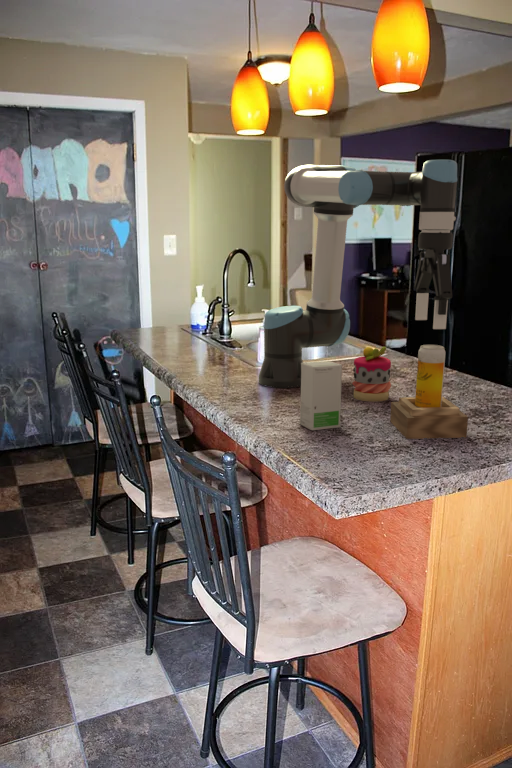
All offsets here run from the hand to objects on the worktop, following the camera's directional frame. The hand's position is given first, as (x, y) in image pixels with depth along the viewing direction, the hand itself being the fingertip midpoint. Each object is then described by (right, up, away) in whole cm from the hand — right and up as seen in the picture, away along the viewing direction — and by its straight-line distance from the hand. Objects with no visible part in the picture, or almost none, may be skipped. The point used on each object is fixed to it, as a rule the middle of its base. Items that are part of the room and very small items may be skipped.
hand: (429, 324), depth 155 cm
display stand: (0, -25, +3) cm, 25 cm away
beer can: (0, -20, +2) cm, 20 cm away
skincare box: (-25, -24, +6) cm, 36 cm away
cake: (-8, -18, +32) cm, 38 cm away
